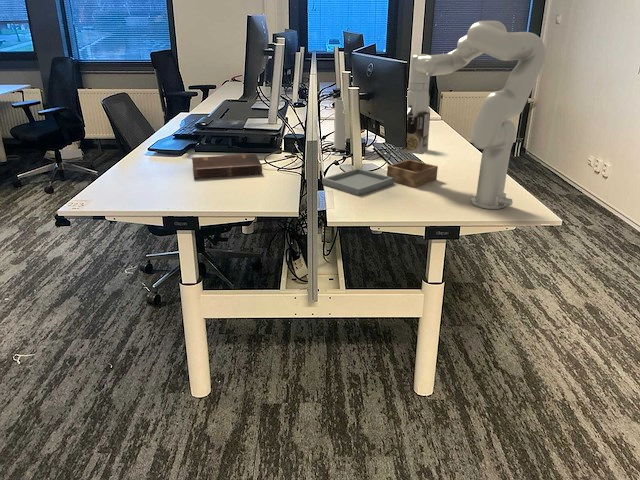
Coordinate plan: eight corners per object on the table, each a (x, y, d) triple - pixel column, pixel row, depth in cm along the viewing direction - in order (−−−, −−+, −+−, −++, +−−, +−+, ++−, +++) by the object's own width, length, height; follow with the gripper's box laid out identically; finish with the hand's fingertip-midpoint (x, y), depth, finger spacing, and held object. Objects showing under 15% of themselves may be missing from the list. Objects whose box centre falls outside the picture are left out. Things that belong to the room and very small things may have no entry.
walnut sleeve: (436, 179, 222) (437, 166, 220) (415, 187, 212) (416, 173, 210) (407, 172, 232) (408, 159, 229) (386, 179, 222) (387, 165, 220)
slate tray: (393, 183, 217) (393, 177, 216) (358, 195, 203) (358, 189, 202) (357, 173, 230) (357, 168, 229) (322, 184, 216) (322, 178, 215)
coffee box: (428, 151, 217) (431, 112, 211) (422, 154, 212) (425, 114, 206) (407, 149, 222) (410, 110, 215) (401, 152, 217) (403, 112, 210)
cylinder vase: (356, 151, 266) (358, 101, 256) (332, 150, 268) (333, 100, 258) (359, 145, 277) (360, 97, 267) (335, 144, 279) (336, 96, 269)
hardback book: (194, 180, 221) (193, 169, 219) (193, 168, 238) (192, 157, 236) (262, 175, 228) (261, 164, 226) (256, 164, 244) (255, 154, 242)
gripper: (423, 84, 215) (420, 127, 222) (398, 88, 203) (395, 133, 210) (439, 86, 210) (435, 130, 217) (414, 90, 199) (411, 136, 206)
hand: (416, 131), depth 214 cm, fingers closed on coffee box, 7 cm apart
